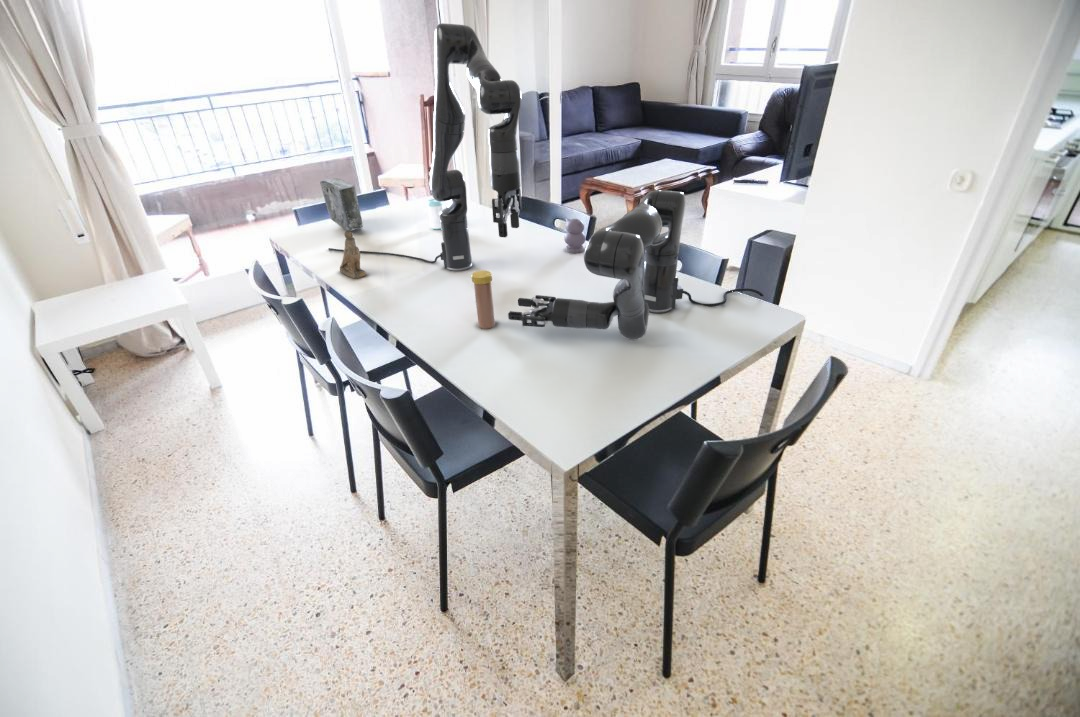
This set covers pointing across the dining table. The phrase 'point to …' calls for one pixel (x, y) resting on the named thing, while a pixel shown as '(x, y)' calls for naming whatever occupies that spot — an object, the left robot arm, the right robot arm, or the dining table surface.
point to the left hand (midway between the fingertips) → (509, 232)
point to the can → (435, 213)
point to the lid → (481, 277)
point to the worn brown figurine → (351, 258)
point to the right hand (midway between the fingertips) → (513, 308)
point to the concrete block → (342, 203)
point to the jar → (484, 305)
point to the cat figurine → (574, 235)
